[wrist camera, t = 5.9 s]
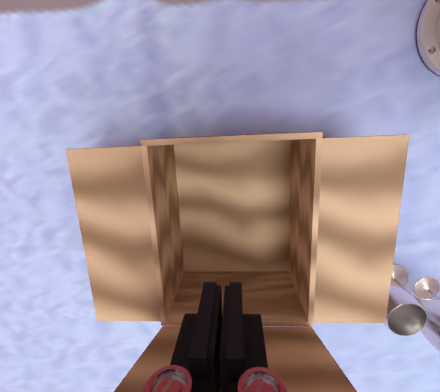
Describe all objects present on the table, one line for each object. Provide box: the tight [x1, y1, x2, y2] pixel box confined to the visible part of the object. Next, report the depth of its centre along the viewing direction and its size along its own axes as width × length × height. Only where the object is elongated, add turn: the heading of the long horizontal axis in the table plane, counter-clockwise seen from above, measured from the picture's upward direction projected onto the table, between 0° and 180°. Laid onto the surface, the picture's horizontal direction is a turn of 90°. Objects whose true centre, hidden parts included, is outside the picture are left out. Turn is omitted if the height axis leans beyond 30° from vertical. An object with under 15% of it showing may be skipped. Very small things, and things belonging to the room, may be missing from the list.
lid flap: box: [114, 326, 357, 392], centre depth 20 cm, size 22×18×1 cm
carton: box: [66, 132, 409, 327], centre depth 34 cm, size 22×34×12 cm, turn 92°
